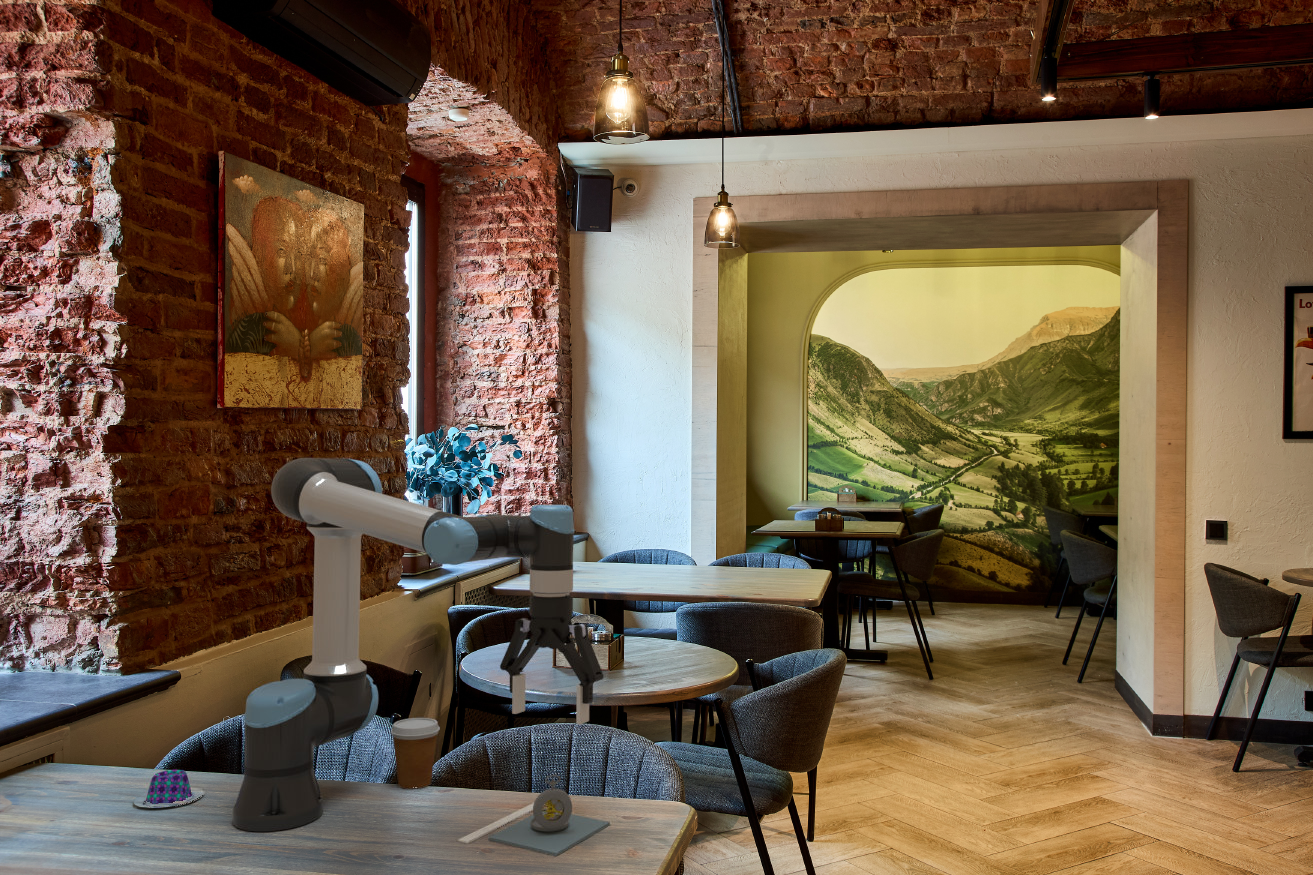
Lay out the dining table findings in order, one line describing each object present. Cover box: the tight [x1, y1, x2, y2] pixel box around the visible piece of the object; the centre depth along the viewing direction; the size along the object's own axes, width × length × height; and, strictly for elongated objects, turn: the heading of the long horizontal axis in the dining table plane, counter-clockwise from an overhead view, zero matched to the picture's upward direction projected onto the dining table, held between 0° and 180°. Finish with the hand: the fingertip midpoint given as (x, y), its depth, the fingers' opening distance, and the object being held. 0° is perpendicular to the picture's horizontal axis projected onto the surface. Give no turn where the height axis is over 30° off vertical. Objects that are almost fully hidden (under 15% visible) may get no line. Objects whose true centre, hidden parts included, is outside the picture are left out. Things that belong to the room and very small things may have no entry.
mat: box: [487, 808, 611, 857], centre depth 164 cm, size 14×16×1 cm
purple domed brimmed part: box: [146, 769, 205, 807], centre depth 181 cm, size 12×12×5 cm
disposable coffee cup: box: [390, 717, 441, 790], centre depth 190 cm, size 10×10×12 cm
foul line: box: [457, 802, 546, 845], centre depth 169 cm, size 2×22×1 cm, turn 151°
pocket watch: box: [530, 774, 573, 832], centre depth 164 cm, size 8×8×10 cm
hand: (550, 717), depth 165 cm, fingers open, 13 cm apart
